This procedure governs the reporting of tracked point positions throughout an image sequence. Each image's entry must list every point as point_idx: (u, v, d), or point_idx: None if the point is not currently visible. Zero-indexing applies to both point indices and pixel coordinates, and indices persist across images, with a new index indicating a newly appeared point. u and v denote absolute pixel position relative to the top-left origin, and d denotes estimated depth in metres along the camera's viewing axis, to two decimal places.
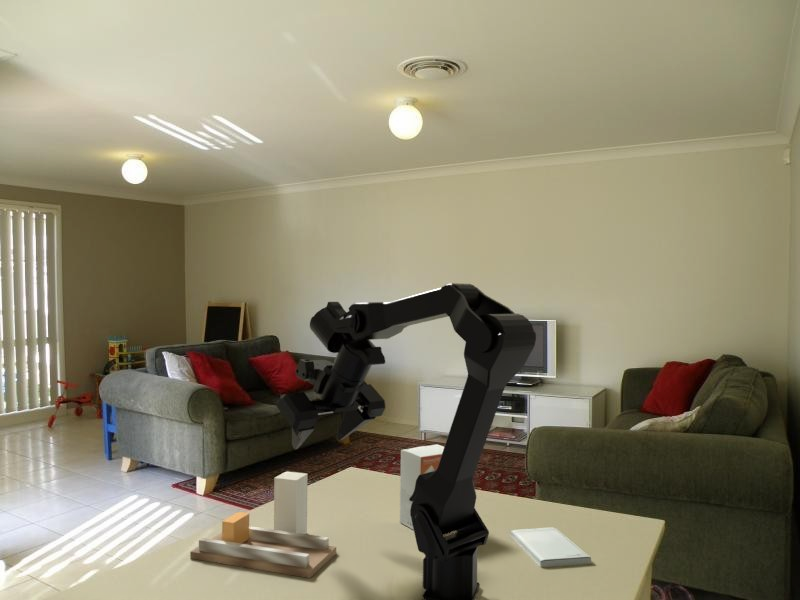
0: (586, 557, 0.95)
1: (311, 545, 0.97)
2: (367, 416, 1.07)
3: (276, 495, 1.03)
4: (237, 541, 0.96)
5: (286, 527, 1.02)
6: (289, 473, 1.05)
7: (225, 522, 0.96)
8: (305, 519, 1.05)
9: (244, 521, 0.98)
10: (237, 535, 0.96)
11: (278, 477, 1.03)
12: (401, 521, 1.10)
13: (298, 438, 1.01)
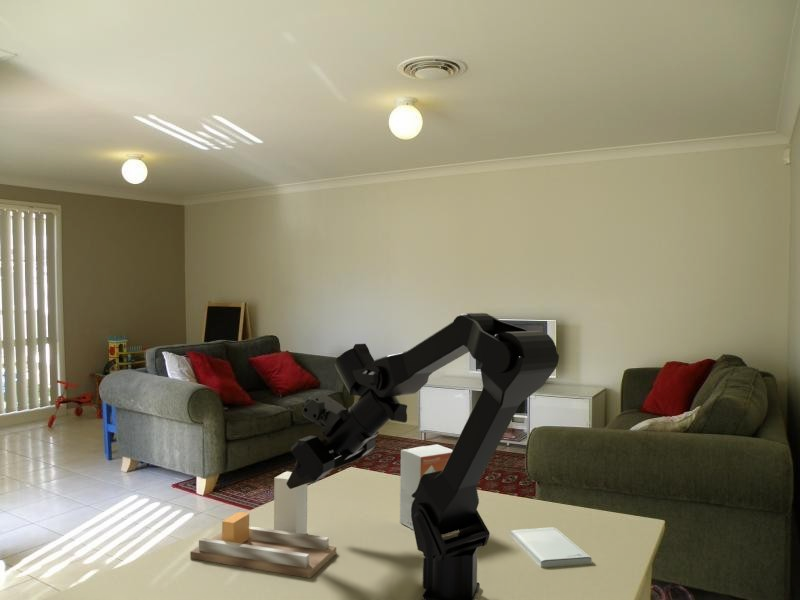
0: (586, 557, 0.95)
1: (311, 545, 0.97)
2: (357, 454, 1.06)
3: (277, 495, 1.03)
4: (237, 541, 0.96)
5: (286, 527, 1.02)
6: (289, 473, 1.06)
7: (225, 522, 0.96)
8: (305, 519, 1.05)
9: (244, 521, 0.98)
10: (237, 535, 0.96)
11: (278, 477, 1.03)
12: (401, 521, 1.10)
13: (301, 481, 0.97)
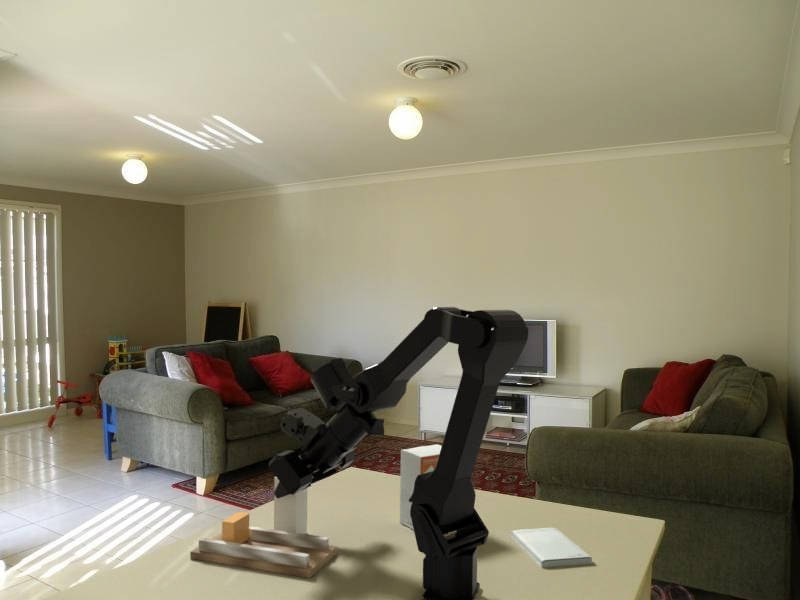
0: (587, 557, 0.95)
1: (311, 545, 0.97)
2: (330, 471, 1.06)
3: None
4: (237, 541, 0.96)
5: (286, 526, 1.02)
6: None
7: (225, 522, 0.96)
8: (305, 519, 1.05)
9: (244, 521, 0.98)
10: (237, 535, 0.96)
11: None
12: (401, 521, 1.10)
13: None
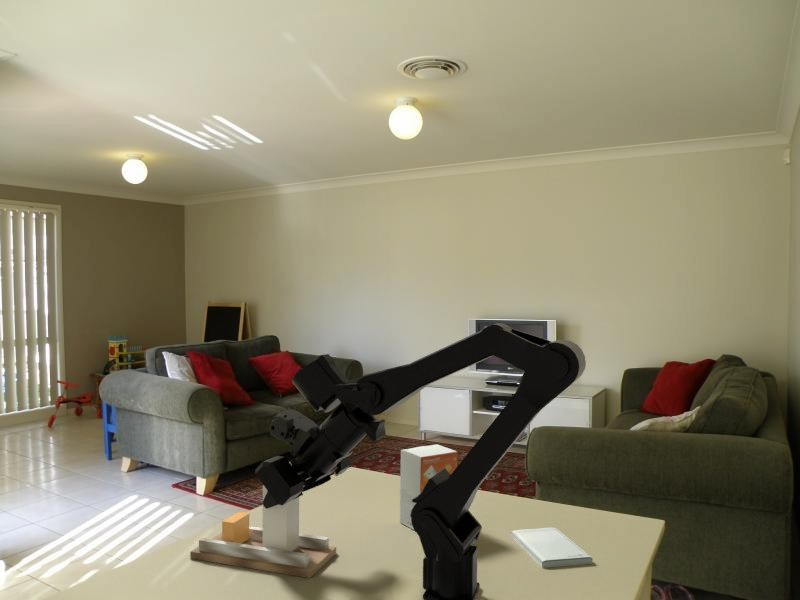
0: (587, 557, 0.95)
1: (311, 545, 0.97)
2: (324, 478, 0.97)
3: None
4: (237, 541, 0.96)
5: (275, 539, 0.93)
6: None
7: (225, 522, 0.96)
8: (297, 531, 0.96)
9: (244, 521, 0.98)
10: (237, 535, 0.96)
11: None
12: (401, 521, 1.10)
13: None
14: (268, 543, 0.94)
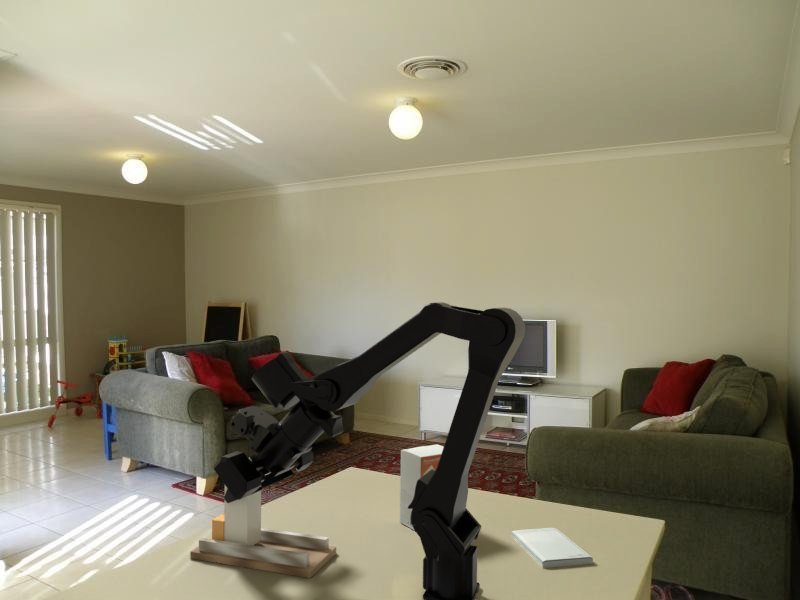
0: (588, 557, 0.95)
1: (311, 545, 0.97)
2: (285, 473, 0.99)
3: None
4: None
5: (236, 533, 0.95)
6: None
7: (215, 521, 0.96)
8: (258, 525, 0.98)
9: None
10: None
11: None
12: (401, 521, 1.10)
13: None
14: (229, 537, 0.96)
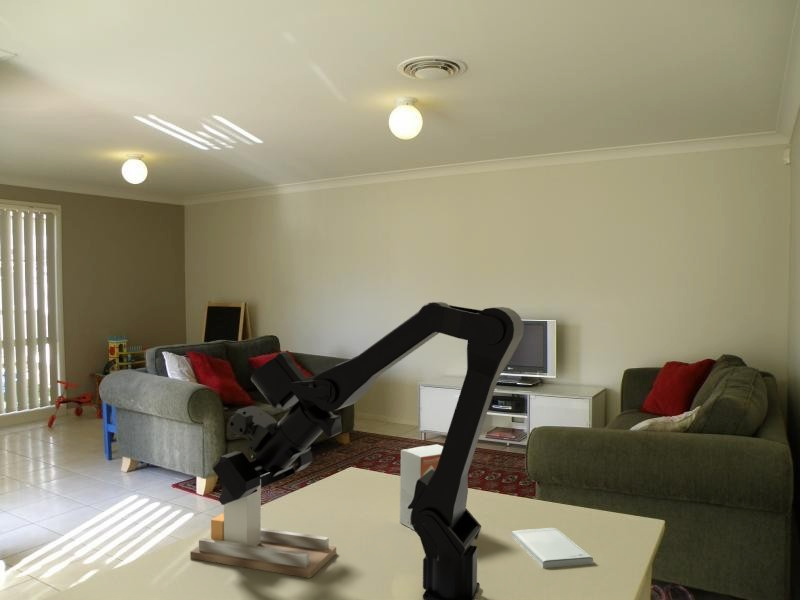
0: (588, 557, 0.95)
1: (311, 545, 0.97)
2: (288, 472, 1.00)
3: None
4: None
5: (236, 536, 0.95)
6: None
7: (214, 520, 0.96)
8: (258, 528, 0.98)
9: None
10: None
11: None
12: (401, 521, 1.10)
13: (233, 497, 0.93)
14: (229, 540, 0.96)
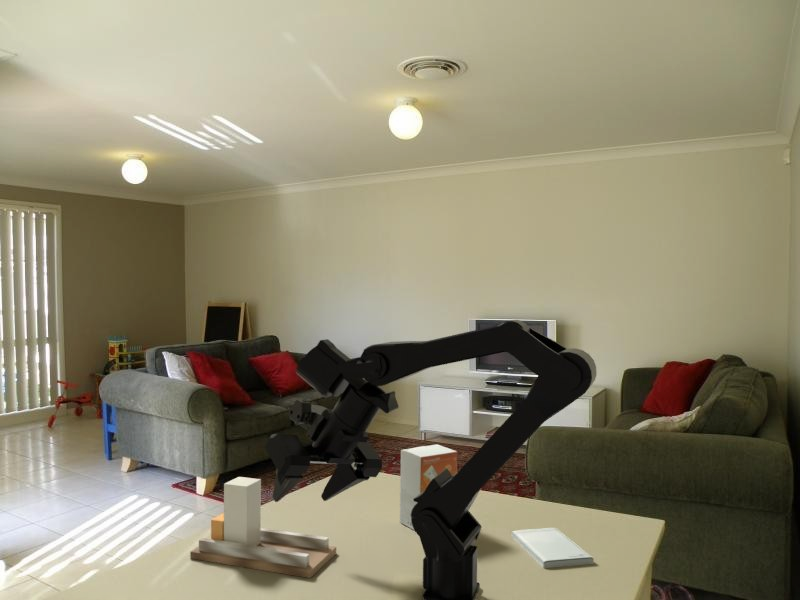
0: (589, 558, 0.95)
1: (311, 545, 0.97)
2: (360, 475, 0.95)
3: (226, 503, 0.96)
4: None
5: (236, 536, 0.95)
6: (241, 479, 0.99)
7: (214, 520, 0.96)
8: (258, 528, 0.98)
9: None
10: None
11: (228, 483, 0.96)
12: (401, 521, 1.10)
13: (282, 488, 0.88)
14: (229, 540, 0.96)
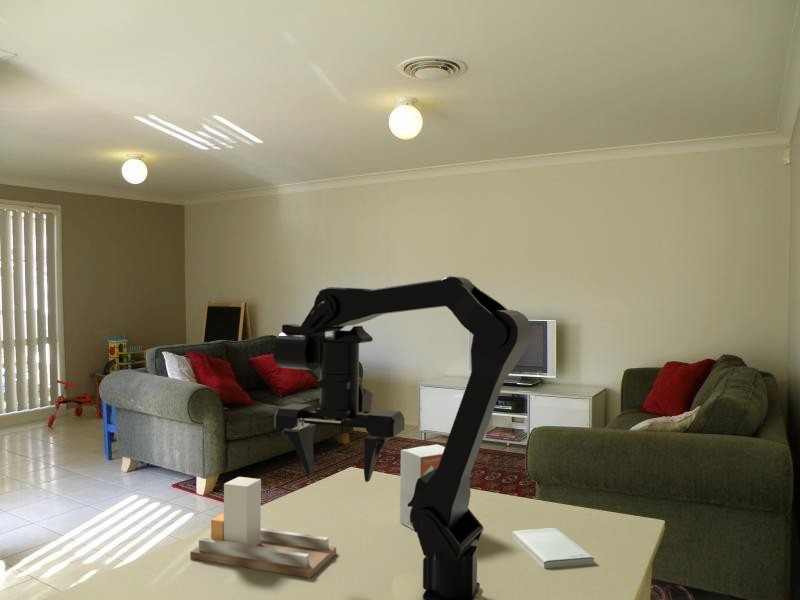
0: (589, 557, 0.95)
1: (311, 545, 0.97)
2: (373, 437, 0.89)
3: (226, 503, 0.96)
4: None
5: (236, 536, 0.95)
6: (241, 479, 0.99)
7: (214, 520, 0.96)
8: (258, 528, 0.98)
9: None
10: None
11: (228, 483, 0.96)
12: (401, 521, 1.10)
13: None
14: (229, 540, 0.96)
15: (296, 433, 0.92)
